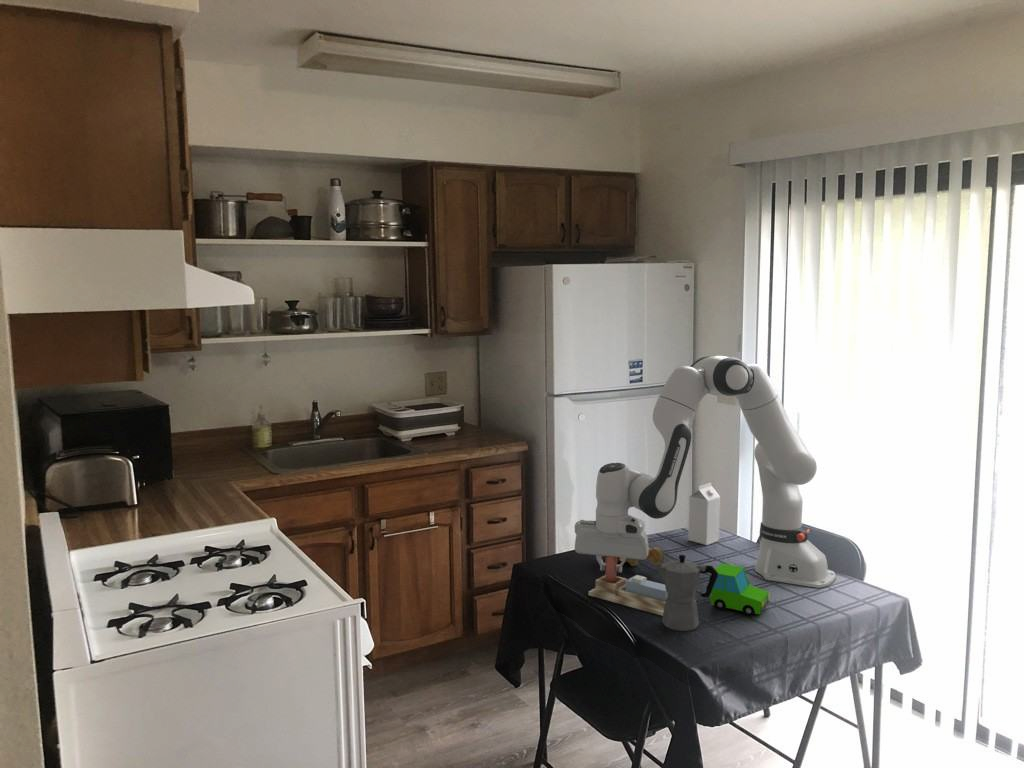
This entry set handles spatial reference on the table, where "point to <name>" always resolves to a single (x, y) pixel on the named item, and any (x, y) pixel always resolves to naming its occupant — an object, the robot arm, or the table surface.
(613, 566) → the tail peg
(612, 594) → the jig
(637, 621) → the table surface
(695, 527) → the milk carton
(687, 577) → the coffeepot
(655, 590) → the blue slab with cube
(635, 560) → the toy helicopter
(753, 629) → the table surface
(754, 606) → the toy car
